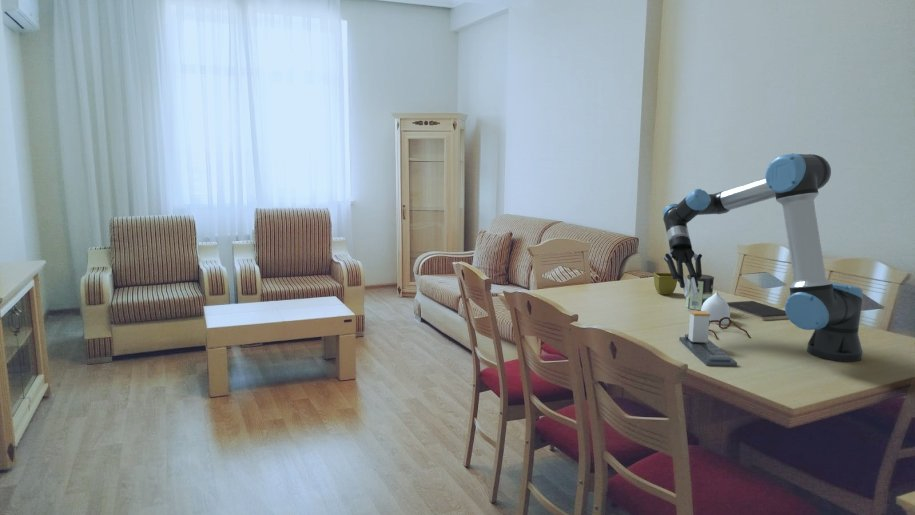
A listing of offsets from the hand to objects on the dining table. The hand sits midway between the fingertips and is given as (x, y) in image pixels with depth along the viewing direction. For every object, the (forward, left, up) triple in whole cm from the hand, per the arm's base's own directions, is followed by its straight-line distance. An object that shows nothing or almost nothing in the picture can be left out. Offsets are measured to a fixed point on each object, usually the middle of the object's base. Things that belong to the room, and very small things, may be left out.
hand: (691, 295), depth 214 cm
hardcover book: (+6, -56, -16) cm, 58 cm away
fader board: (-14, +10, -15) cm, 23 cm away
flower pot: (+49, -53, -15) cm, 74 cm away
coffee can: (+22, -39, -15) cm, 47 cm away
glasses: (-4, -14, -16) cm, 22 cm away
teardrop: (+8, -29, -15) cm, 34 cm away
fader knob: (-7, +5, -14) cm, 16 cm away
